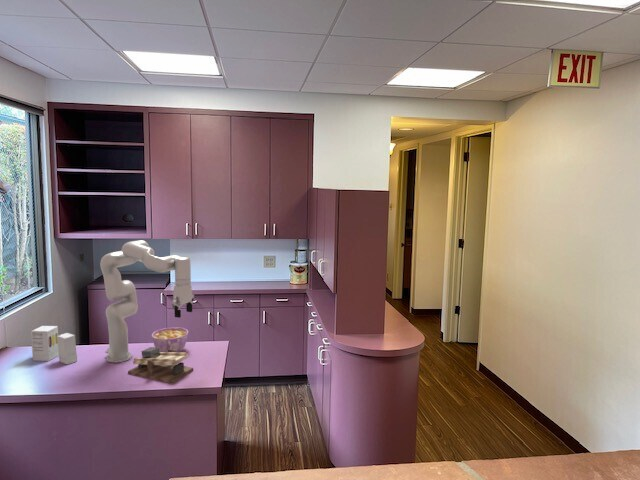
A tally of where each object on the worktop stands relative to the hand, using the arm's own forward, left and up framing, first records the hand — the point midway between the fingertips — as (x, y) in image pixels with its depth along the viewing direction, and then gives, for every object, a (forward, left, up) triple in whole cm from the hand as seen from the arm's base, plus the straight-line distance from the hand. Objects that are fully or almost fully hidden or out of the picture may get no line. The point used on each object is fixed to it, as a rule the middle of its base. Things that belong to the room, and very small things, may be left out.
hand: (183, 314), depth 218 cm
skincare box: (-66, -14, -31) cm, 74 cm away
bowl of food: (-24, +18, -31) cm, 43 cm away
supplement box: (-81, -15, -31) cm, 88 cm away
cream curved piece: (-11, -5, -24) cm, 27 cm away
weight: (-17, -5, -24) cm, 30 cm away
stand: (-11, -5, -31) cm, 33 cm away
